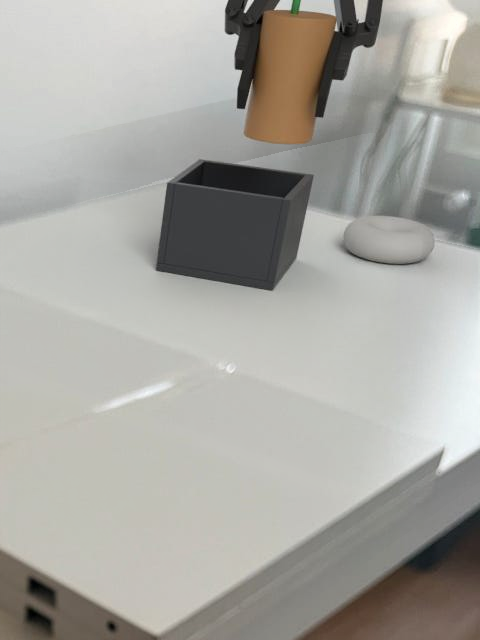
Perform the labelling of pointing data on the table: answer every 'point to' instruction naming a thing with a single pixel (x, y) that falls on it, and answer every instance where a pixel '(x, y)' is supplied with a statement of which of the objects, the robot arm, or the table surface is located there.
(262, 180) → the bin
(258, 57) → the paper cup
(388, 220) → the donut
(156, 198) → the table surface
